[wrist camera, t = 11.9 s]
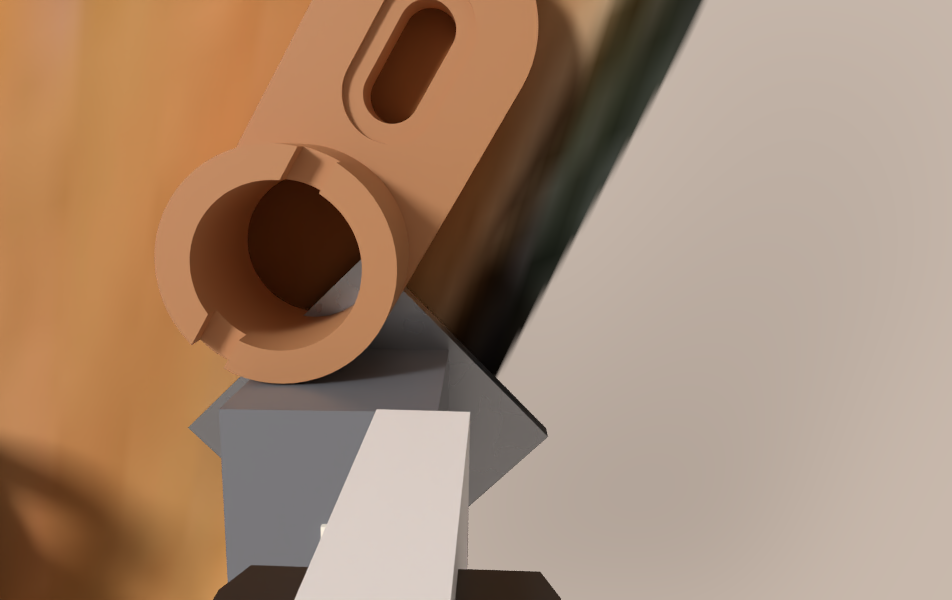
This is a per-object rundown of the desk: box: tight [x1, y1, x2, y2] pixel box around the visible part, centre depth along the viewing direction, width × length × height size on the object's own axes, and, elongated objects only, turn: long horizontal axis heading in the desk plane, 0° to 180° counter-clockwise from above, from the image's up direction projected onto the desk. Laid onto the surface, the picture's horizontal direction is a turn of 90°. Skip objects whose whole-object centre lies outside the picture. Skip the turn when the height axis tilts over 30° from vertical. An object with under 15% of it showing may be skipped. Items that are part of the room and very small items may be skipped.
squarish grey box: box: [219, 349, 449, 582], centre depth 29 cm, size 7×7×8 cm
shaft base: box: [188, 260, 547, 507], centre depth 31 cm, size 11×11×6 cm
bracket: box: [155, 0, 538, 384], centre depth 29 cm, size 18×8×7 cm, turn 149°
